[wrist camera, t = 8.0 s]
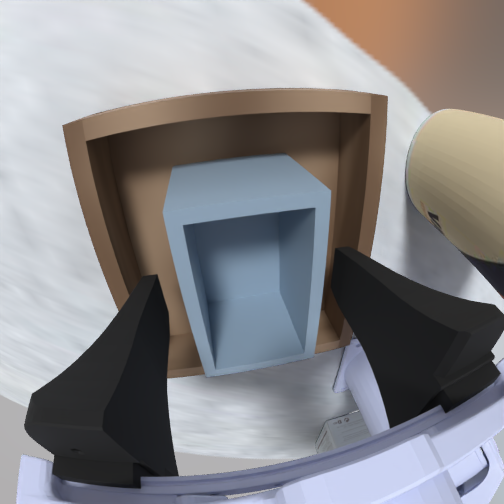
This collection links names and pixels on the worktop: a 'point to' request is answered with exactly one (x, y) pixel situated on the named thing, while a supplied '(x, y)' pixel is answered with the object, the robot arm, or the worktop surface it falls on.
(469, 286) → the worktop surface
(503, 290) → the coffee cup
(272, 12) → the worktop surface
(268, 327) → the slate crate
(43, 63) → the worktop surface
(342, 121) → the walnut crate
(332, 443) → the supplement box
